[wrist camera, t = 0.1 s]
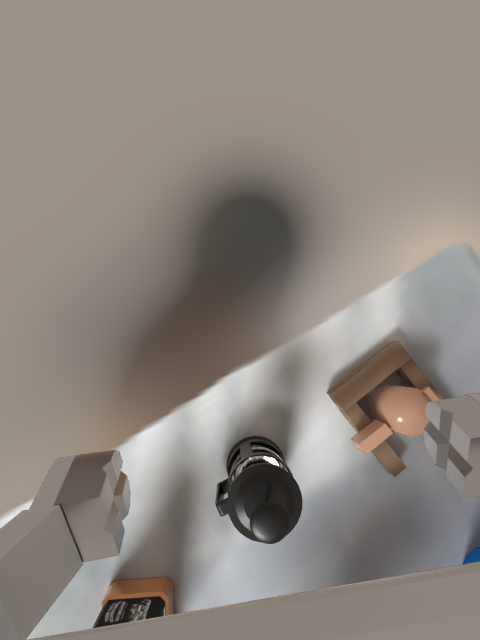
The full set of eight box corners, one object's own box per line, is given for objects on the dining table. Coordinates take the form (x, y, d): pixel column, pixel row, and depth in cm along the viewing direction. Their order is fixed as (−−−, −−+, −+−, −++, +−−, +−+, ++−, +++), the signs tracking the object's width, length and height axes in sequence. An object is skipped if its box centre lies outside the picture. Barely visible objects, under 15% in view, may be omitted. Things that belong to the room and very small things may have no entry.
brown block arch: (451, 418, 64) (461, 421, 61) (387, 471, 63) (394, 477, 60) (390, 342, 65) (398, 341, 62) (326, 392, 64) (331, 394, 61)
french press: (272, 424, 63) (296, 458, 40) (298, 477, 62) (336, 543, 40) (207, 456, 62) (194, 509, 40) (232, 510, 62) (233, 597, 39)
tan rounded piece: (395, 372, 65) (419, 374, 57) (422, 406, 64) (449, 412, 56) (334, 422, 64) (348, 430, 56) (360, 456, 63) (379, 470, 55)
